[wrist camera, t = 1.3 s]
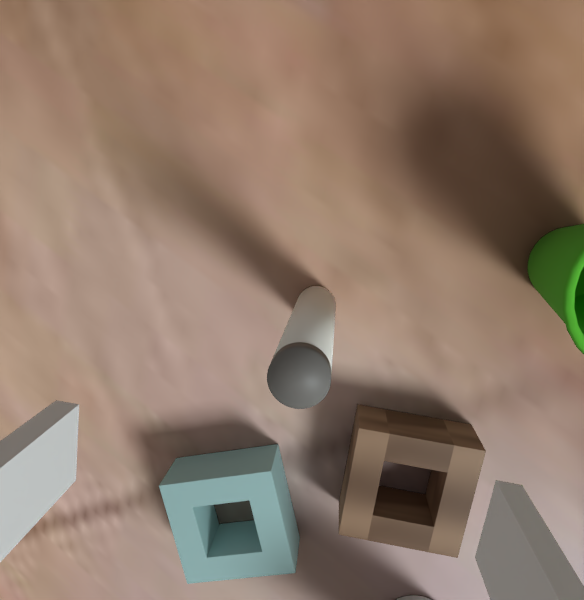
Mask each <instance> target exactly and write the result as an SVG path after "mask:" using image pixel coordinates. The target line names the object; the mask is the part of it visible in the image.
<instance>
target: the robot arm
mask: <svg viewBox="0 0 584 600" xmlns="http://www.w3.org/2000/svg"><path fill="white" fill-rule="evenodd" d="M78 418H79V404H74V403H68V402H63V401H57V400H56V401H55V402H53V403H52V404H50V405H49V406H48V407H46V408H45V409H44V410H42V411H41V412H40V413H38V414H37V415H35V416H34V417H33V418H31V419H30V420H29V421H27V422H26V423H24V424H23V425H22V426H20V427H19V428H18V429H16V430H15V431H14V432H12V433H11V434H9V435H8V436H7V437H5V438H4V439H3V440H1V441H0V562H1V561H2V560H3V559H4V558H5V557H6V556H7V554H8V553H9V552H10V551H11V550H12V549H13V548H14V547H15V546H16V545H17V544H18V543H19V541H20V540H21V539H22V538H23V537H24V536H25V535H26V534H27V533H28V532H29V531H30V529H31V528H32V527H33V526H34V525H35V524H36V523H37V522H38V521H39V520H40V519H41V518H42V516H43V515H44V514H45V513H46V512H47V511H48V510H49V509H50V508H51V507H52V506H53V505H54V503H55V502H56V501H57V500H58V499H59V498H60V497H61V496H62V495H63V494H64V493H65V492H66V490H67V489H68V488H69V487H70V486H71V485H72V484H73V483H74V482H75V481H76V465H77V441H78ZM475 558H476V561H477V564H478V567H479V569H480V572H481V575H482V578H483V580H484V583H485V586H486V589H487V591H488V594H489V597H490V600H584V586H583V584H582V583H581V581H580V579H579V578H578V576H577V575H576V573H575V571H574V570H573V568H572V566H571V565H570V563H569V561H568V560H567V558H566V557H565V555H564V553H563V552H562V550H561V548H560V547H559V545H558V543H557V542H556V540H555V538H554V537H553V535H552V534H551V532H550V530H549V529H548V527H547V525H546V524H545V522H544V520H543V519H542V517H541V516H540V514H539V512H538V511H537V509H536V507H535V506H534V504H533V502H532V501H531V499H530V498H529V496H528V494H527V493H526V491H525V489H524V488H523V486H522V485H519V484H514V483H508V482H503V481H497V480H496V482H495V486H494V489H493V493H492V497H491V500H490V504H489V508H488V512H487V515H486V519H485V523H484V526H483V530H482V534H481V537H480V541H479V545H478V548H477V552H476V556H475Z"/></svg>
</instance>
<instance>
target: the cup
mask: <svg viewBox="0 0 584 600" xmlns="http://www.w3.org/2000/svg"><path fill="white" fill-rule="evenodd" d="M528 275H529V279H530V281H531V283H532V284H533V286H534V288H535V289H536V290H537V291H538V292H539V293H540V295H541V296H542V297H543V298H544V299H545V300H546V302H547V303H548V304H549V305H550V306H551V308H552V309H553V310H554V311H555V312H556V313H557V315H558V316H559V317H560V318H561V319H562V320H563V322H564V323H565V324H566V327H567V331H568V332H569V334H570V336H571V338H572V340H573V341H574V343H575V345H576V347H577V348H578V349H579V350H580V351H581V352H582V353H583V354H584V224H580V225H574V226H569V227H563V228H558V229H556V230H554V231H551V232H549V233H548V234H546V235H545V236H543V237H542V238H541V239H540V240H539V241H538V242H537V243H536V244H535V246H534V248H533V249H532V251H531V253H530V256H529V260H528Z"/></svg>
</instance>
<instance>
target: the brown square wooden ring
mask: <svg viewBox="0 0 584 600" xmlns="http://www.w3.org/2000/svg"><path fill="white" fill-rule="evenodd" d="M485 452H486V451H485V449H484V447H483V445H482V443H481V441H480V440H479V438H478V436H477V434H476V432H475V430H474V429H473V427H472V425H471V424H466V423H460V422H455V421H449V420H443V419H438V418H432V417H426V416H421V415H415V414H409V413H404V412H398V411H392V410H387V409H381V408H375V407H370V406H364V405H359V404H357V410H356V415H355V420H354V425H353V431H352V436H351V441H350V447H349V452H348V457H347V462H346V468H345V473H344V478H343V483H342V489H341V494H340V499H339V535H344V536H349V537H354V538H359V539H364V540H369V541H374V542H379V543H385V544H390V545H395V546H400V547H405V548H410V549H415V550H420V551H425V552H431V553H436V554H441V555H446V556H451V557H456V558H458V554H459V550H460V547H461V543H462V539H463V535H464V532H465V528H466V524H467V520H468V516H469V513H470V509H471V505H472V501H473V498H474V494H475V490H476V486H477V482H478V479H479V475H480V471H481V467H482V464H483V460H484V456H485ZM384 461H387V462H392V463H398V464H403V465H409V466H414V467H420V468H425V469H430V470H431V473H430V477H429V481H428V485H427V490H426V494H421V493H416V492H411V491H405V490H400V489H395V488H389V487H384V486H379V482H380V477H381V473H382V468H383V463H384Z"/></svg>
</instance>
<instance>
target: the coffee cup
mask: <svg viewBox="0 0 584 600" xmlns="http://www.w3.org/2000/svg"><path fill="white" fill-rule="evenodd" d="M396 600H432V599H429V598H427V597H423V596H416V595H410V596H404V597H401V598H398V599H396Z"/></svg>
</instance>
